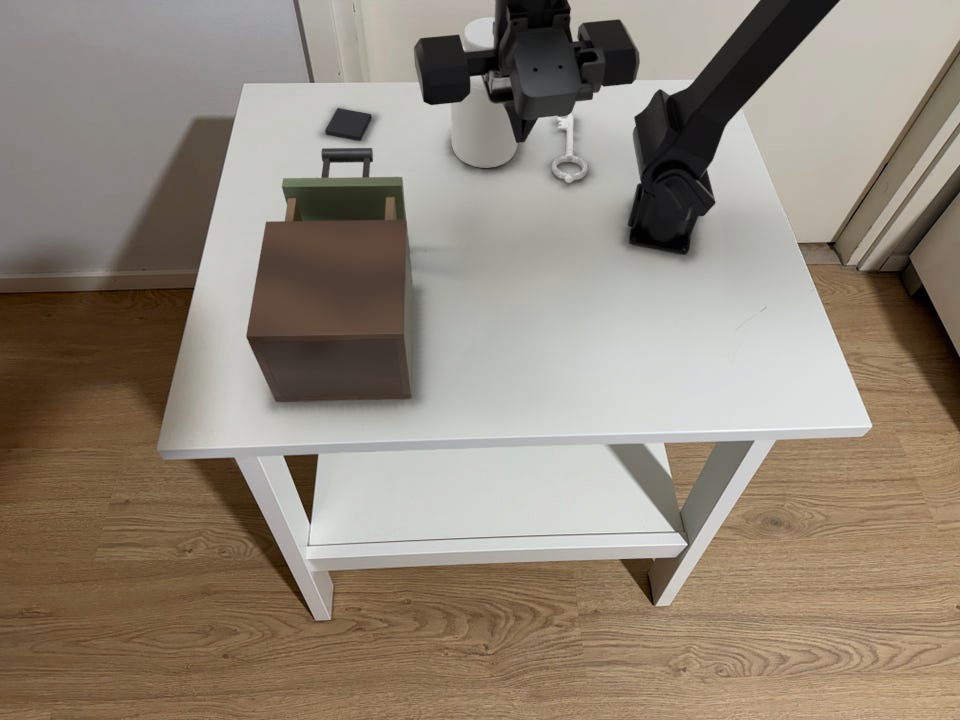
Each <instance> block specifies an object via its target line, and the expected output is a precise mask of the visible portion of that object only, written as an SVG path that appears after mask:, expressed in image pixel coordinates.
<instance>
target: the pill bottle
mask: <svg viewBox="0 0 960 720" xmlns="http://www.w3.org/2000/svg"><path fill="white" fill-rule="evenodd" d="M493 22H495V17H480V18H477V19H474V20H472V21H470V22H469V23H468V24H467V25H466V26H465V27H464V31H463V44H462V46H463V49H464V51H467V50H478V49H488V48H493V46H494V36H493V33H492V32H493ZM450 104H451V108H450V110H451V112H450V113H451V114H450V115H451V116H450V117H451V119H450V121H451V126H450V127H451V131H450V132H451V135H450V136H451V146H452V151H453V152H454V154H455V156H456V157H457V158H458V159H459V160H460V161H461V162H463V163H465V164H467V165H469V166H471V167H475V168H482V169H487V168H496V167H499V166H502V165H504V164H507V163H508V162H509V161H511V159H512V158H513V157H514V155H515V154H516V151H517V148H518V144H519V143H516V141H515V138H514V134H513V131H512V128H511V124H510V121H509V118H508V114H507V112H506V110H505V108H504V106H503V105H502V104H494V103H492V102H490V101H489V99H488V96H487V93H486V90H485V87H484V83H483V80H482V77H481V76H471V77H470V94H469V95H468V96H467V97H466V98H465V99H464V100H463V101H462V102H457V103H450Z"/></svg>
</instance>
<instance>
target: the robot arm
mask: <svg viewBox="0 0 960 720" xmlns="http://www.w3.org/2000/svg"><path fill="white" fill-rule="evenodd" d="M494 1H495V2H494V18H495V22H493V32H492V33H493V36H494V46H493V48H488V49H478V50H467V51H464V49H463V43H462V40H461V36H460V34H450V35H439V36H428V37H420V38H419V39H418V40H417V42H416V43H415V45H414V46H413V56H414V68H415V72H416V75H417V80H418V85H419V88H420V89H419V90H420V93H421V98H422V101H423V102H422V103H425V104H427V105H430V106H436V105H437V106H438V105H446V104H451V103H457V102H462V101H463V100H464V99H465V98H466V97H467V96H468V95H469V94H470V77H471V76H481V77H482V80H483V83H484V87H485V90H486V93H487V96H488V99H489V101H490V102H492V103H494V104H502V105H503V106H504V108H505V110H506V112H507V114H508V118H509V121H510V124H511V128H512V131H513V134H514V138H515V141H516V143H518V144H520V143H522V144H523V143H525V142H526V140H527V139H528V137H529V135H530V133H531V132H532V130H533V129H534V127H535V125H536V123H537V122H538V120H539V119H540V118H542V119H543V118H551V117H557V118H558V117H561V118H564V117H567V115H569V114H570V113H571V114H572V113H573V111H574V108H575V105H576V102H585V101H593V98H594V94H597V93H599V92H600V91H601V88H602V87H604V88H605V87H614V86H625V85H632V84H633V83H634V82H635V81H636V80H637V76H638V72H639V68H640V65H641V60H640V59H641V58H640V51H639V50H638V47H637V46H636V44H635V42H634V40H633V38H632V36H631V34H630V32H629V31H628V29H627V27H626V25H625V24H624V23H623V21H622V20H621V19H620V18H618V19H607V20H595V21H587V22H586V21H585V22H582V23H581V24H580V25H578V29H577V35H576V38H577V40H575V41H574V39H573V35H572V32H571V31H572V29H571V20H572V17H571V10H572V8H571V5H570V3H569V1H568V0H494ZM840 1H841V0H759V1H758V2H757V3H756V5H755V6H754V7H753V9H751V11H750V12H749V13H748V14H747V16H746V17H745V18H744V19H743V20H742V21H741V23H740V24H739V25H738V26H737V28H736V29H735V30H734V32H733V33H731V35H730V36H729V37H728V39H727V40H726V41H725V43H724V44H723V45H722V46H721V47H720V49H718V50H717V52H716V53H715V54H714V56H713V57H712V58H711V59H710V61H709V62H708V63H707V64H706V65H705V67H704V68H703V69H702V70H701V72H700V73H699V74H698V75H697V76H696V78H695V79H694V80H693V81H692V83H690V84H689V86H687V87H686V88H684V89H681V90H679V91H676V92H674V93H672V94H669V93H667V92H666V91H664V90H663V89H660V88H659V89H657V90H656V91H655V92H654V94H653V95H652V97H651V98H650V101H649V103H648V104H647V106H646V107H645V108H644V109H643V110H642V111H641V112H639V113H637V114H636V115H635V116H634V118H633V119H634V125H635V126H634V128H633V130H632V142H633V147H634V154H635V159H636V163H637V164H636V165H637V171H638V175H639V181H640V182H639V183H637V184H636V187H635V190H634V194H633V198H632V202H631V205H630V208H629V214H628V218H627V219H628V221H627V227H628V228H630V229H629V230H630V231H629V236H628V243H629V244H630V245H634V246H640V247H644V248H650V249H654V250H660V251H664V252H670V253H674V254H675V253H676V254H679V255H680V254H681V255H687V254H689V251H690V249H691V240H692V235H693V233H694V229H695V226H696V225H697V223H698V219H699V217H704V216H706V215H707V214H708V212H709V211H710V210H711V209H712V208H713V207H714V206H715V205H716V198H715V194H714V190H713V187H712V183H711V179H710V176H709V171H708V168H709V167H710V166H711V164H712V163H713V161H714V158H715V156H716V154H717V151H718V148H719V146H720V143H721V139H722V137H723V135H724V131H725V129H726V127H727V125H728V124H729V122H730V121H731V120H732V119H733V118H734V117H735V116H736V115H737V114H738V113H739V112H740V110H741V109H743V107H744V106H746V104H747V103H748V102H749V101H750V100H751V98H752V97H753V96H754V95H755V94H756V93H757V92H758V91H759V90H760V89H761V88H762V87H763V86H764V84H766V82H767V81H768V80H769V79H770V78H771V77H772V76H773V75H774V73H776V71H777V70H778V69H779V68H780V67H781V66H782V65H783V64H784V62H786V61H787V59H788V58H789V57H790V56H791V55H792V54H793V53H794V52H795V50H797V48H798V47H799V46H800V45H801V44H802V43H803V42H804V41H805V40H806V38H807V37H809V35H810V34H811V33H812V32H813V31H814V30H815V29H816V28H817V27H818V26H819V24H820V23H821V22H823V20H824V19H825V18H826V17H827V16H828V15H829V14H830V13H831V11H832V10H833V9H834V8H835V7H836V6H837V5H838V4H839V3H840Z"/></svg>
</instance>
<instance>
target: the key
mask: <svg viewBox="0 0 960 720" xmlns="http://www.w3.org/2000/svg"><path fill="white" fill-rule="evenodd" d="M574 118H575V116H574V114H573V113H572V112H571V113H570V114H569V115H567V116H566V117H565V118H564V117H558V116H557V122H558V125H557V130H563V131H566V141H565V143H566V144H565V154H564V155H560V156H558V157H556V158H555V159H554V160H553V162H552V163H551V171H552V173H553V174H554V175H555V177H557V178H559V179H563V180H564V181H565V182H566V183H568V184H571V183H573V181H575V180H580V179H582V178H584V177H585V176H586V175H587V173H588V169H589V166H588V164H587V162H586V161H585V159H583V158H581V157H580V156H576V155H574ZM562 163H573V164H574V163H575V164H577V165H579V166H580V167H581V170H580V171H579V172H576V173H568V172H563V171H561V170H560V168H558V165H560V164H562Z"/></svg>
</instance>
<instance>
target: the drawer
mask: <svg viewBox="0 0 960 720" xmlns="http://www.w3.org/2000/svg"><path fill="white" fill-rule="evenodd" d="M320 152H321V161H322V169H321V177H283V178H282V182H281V189H282V193H283V197H284V198H285V204H286V209H285V216H284V221H348V220H407V212H406V202H405V191H404V184H403V183H404V182H403V181H404V180H403V176H370V174H371V173H370V172H371V163H374V151H373V148H372V147H340V148H339V147H325V148H324V147H323V148H321V151H320ZM332 163H333V164H334V163H335V164H337V163H338V164H340V163H342V164H343V163H363V165H362V176H361V177H360V176H359V177H355V176H353V177H330V170H331V164H332Z"/></svg>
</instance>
